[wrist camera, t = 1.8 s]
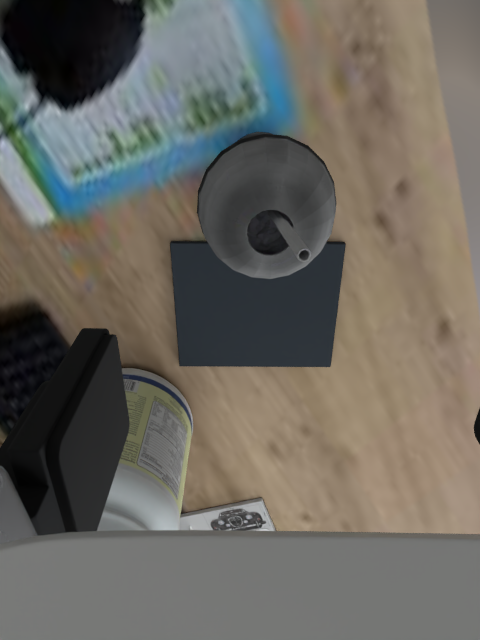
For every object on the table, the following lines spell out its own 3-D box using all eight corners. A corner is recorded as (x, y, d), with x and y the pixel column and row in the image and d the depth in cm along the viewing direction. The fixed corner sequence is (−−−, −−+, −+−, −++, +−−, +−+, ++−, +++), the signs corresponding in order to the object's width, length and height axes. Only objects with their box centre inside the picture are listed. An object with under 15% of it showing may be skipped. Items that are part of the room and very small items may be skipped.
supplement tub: (130, 471, 50) (83, 643, 35) (46, 400, 45) (-49, 565, 30) (219, 423, 46) (208, 591, 32) (139, 340, 41) (82, 494, 27)
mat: (180, 363, 43) (179, 366, 42) (170, 241, 37) (170, 243, 36) (329, 363, 43) (330, 367, 42) (344, 241, 37) (345, 243, 36)
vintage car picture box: (161, 555, 57) (156, 591, 53) (140, 522, 54) (132, 558, 50) (277, 533, 55) (279, 569, 51) (261, 497, 52) (263, 533, 48)
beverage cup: (189, 157, 34) (133, 262, 16) (268, 86, 31) (300, 120, 14) (251, 231, 36) (260, 388, 19) (328, 171, 34) (417, 288, 17)
